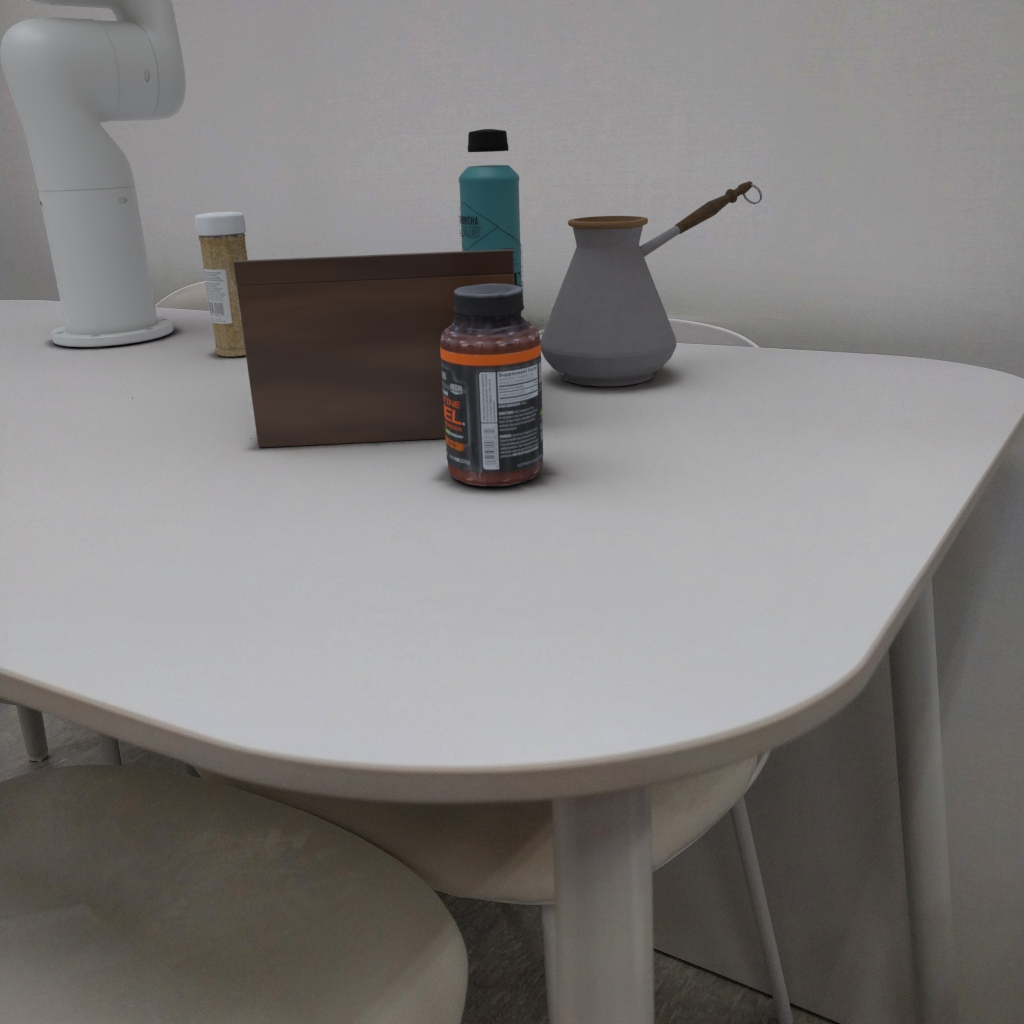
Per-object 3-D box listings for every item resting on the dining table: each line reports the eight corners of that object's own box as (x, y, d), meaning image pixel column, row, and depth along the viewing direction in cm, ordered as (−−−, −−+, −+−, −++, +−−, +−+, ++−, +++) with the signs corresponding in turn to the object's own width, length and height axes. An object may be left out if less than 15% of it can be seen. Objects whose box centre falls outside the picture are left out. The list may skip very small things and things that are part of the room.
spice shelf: (293, 390, 81) (274, 237, 77) (506, 380, 82) (501, 227, 78) (258, 448, 66) (232, 261, 62) (519, 434, 67) (513, 249, 63)
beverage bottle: (488, 320, 109) (480, 129, 101) (537, 325, 105) (532, 127, 98) (451, 330, 104) (440, 130, 97) (501, 336, 100) (493, 128, 93)
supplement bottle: (434, 467, 61) (422, 286, 57) (520, 453, 63) (514, 277, 59) (468, 496, 56) (457, 299, 52) (560, 480, 58) (557, 289, 54)
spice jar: (268, 353, 96) (250, 212, 91) (223, 360, 94) (202, 215, 89) (252, 346, 100) (234, 210, 95) (208, 352, 98) (187, 213, 93)
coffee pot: (588, 400, 75) (587, 197, 70) (515, 373, 84) (509, 192, 79) (792, 362, 85) (805, 182, 79) (706, 342, 94) (712, 179, 89)
